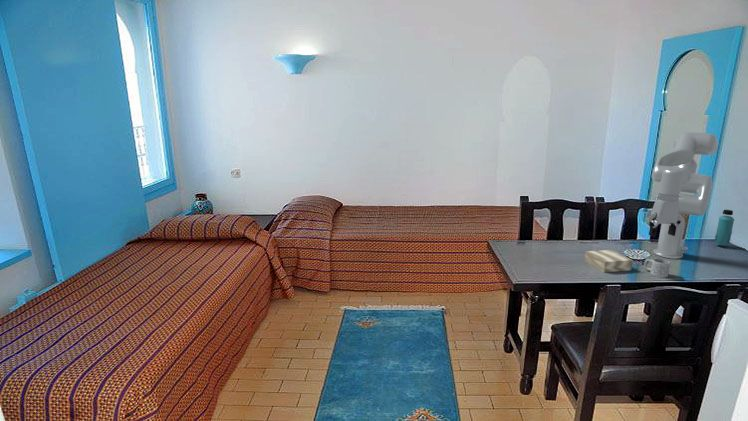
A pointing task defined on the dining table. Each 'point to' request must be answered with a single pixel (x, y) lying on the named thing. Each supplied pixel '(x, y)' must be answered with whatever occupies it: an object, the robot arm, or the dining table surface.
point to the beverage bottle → (724, 228)
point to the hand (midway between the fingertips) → (661, 235)
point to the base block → (608, 260)
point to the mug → (658, 267)
